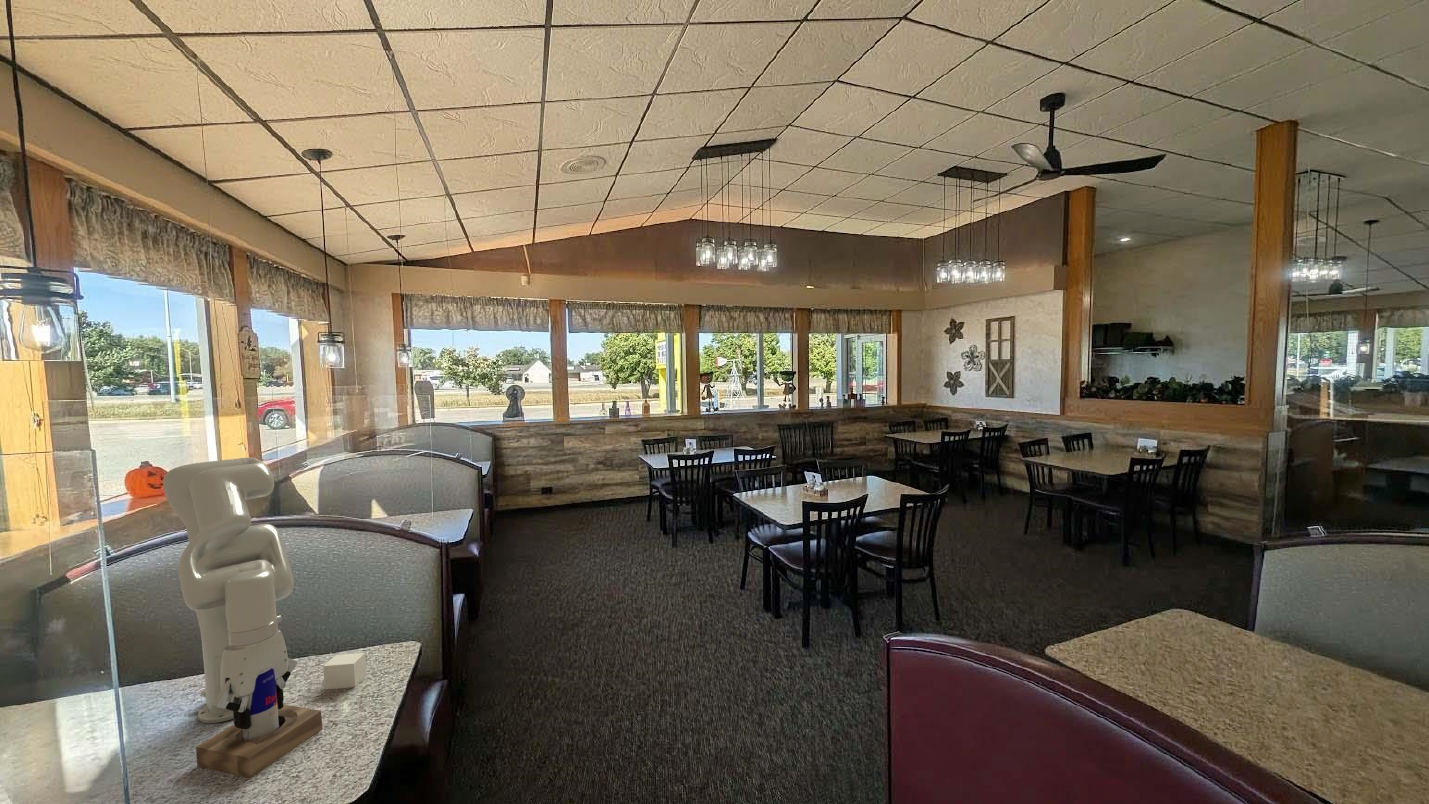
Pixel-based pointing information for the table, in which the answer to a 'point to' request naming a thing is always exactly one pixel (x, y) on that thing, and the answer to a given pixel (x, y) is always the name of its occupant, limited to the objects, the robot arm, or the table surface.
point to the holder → (258, 743)
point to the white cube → (345, 671)
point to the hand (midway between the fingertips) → (260, 716)
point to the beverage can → (262, 707)
